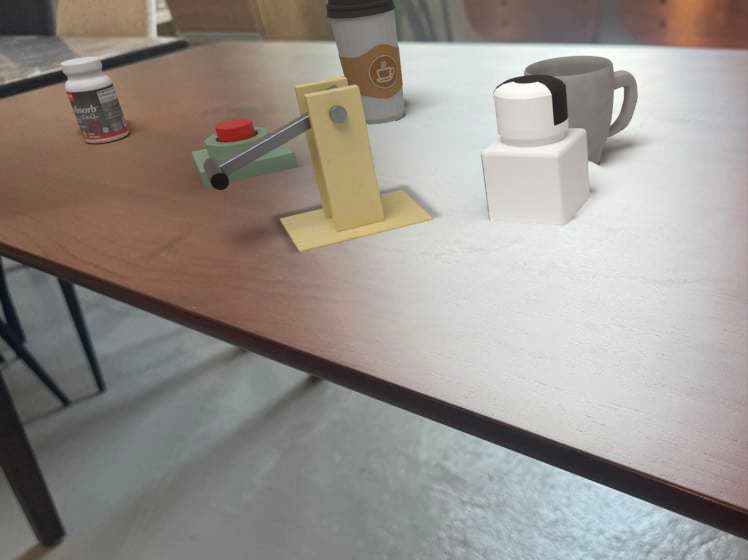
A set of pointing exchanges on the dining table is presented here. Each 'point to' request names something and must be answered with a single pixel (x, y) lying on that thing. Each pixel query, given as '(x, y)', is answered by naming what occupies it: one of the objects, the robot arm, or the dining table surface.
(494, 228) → the dining table surface
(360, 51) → the coffee cup
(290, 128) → the lever
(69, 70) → the pill bottle
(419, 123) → the dining table surface
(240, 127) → the button
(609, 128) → the mug
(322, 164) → the lever bracket
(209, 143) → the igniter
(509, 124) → the medicine bottle
